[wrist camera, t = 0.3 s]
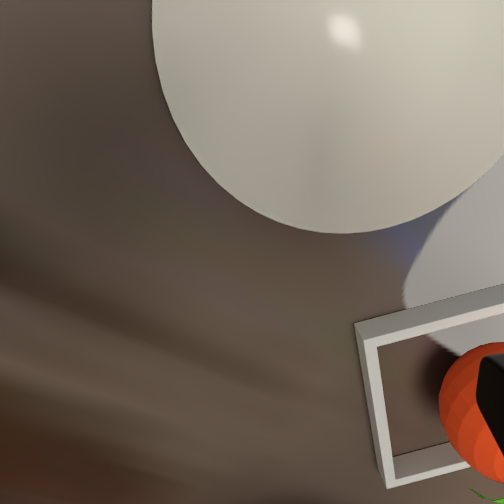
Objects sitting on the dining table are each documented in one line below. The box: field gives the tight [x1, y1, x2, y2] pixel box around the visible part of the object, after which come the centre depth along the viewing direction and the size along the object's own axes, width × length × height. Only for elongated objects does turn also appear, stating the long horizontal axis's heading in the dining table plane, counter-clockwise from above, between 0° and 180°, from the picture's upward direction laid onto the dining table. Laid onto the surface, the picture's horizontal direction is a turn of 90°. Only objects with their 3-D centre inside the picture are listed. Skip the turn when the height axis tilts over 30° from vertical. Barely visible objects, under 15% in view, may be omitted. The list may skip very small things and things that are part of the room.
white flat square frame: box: [354, 284, 504, 489], centre depth 26 cm, size 11×12×2 cm
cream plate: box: [152, 0, 504, 234], centre depth 18 cm, size 16×16×1 cm
